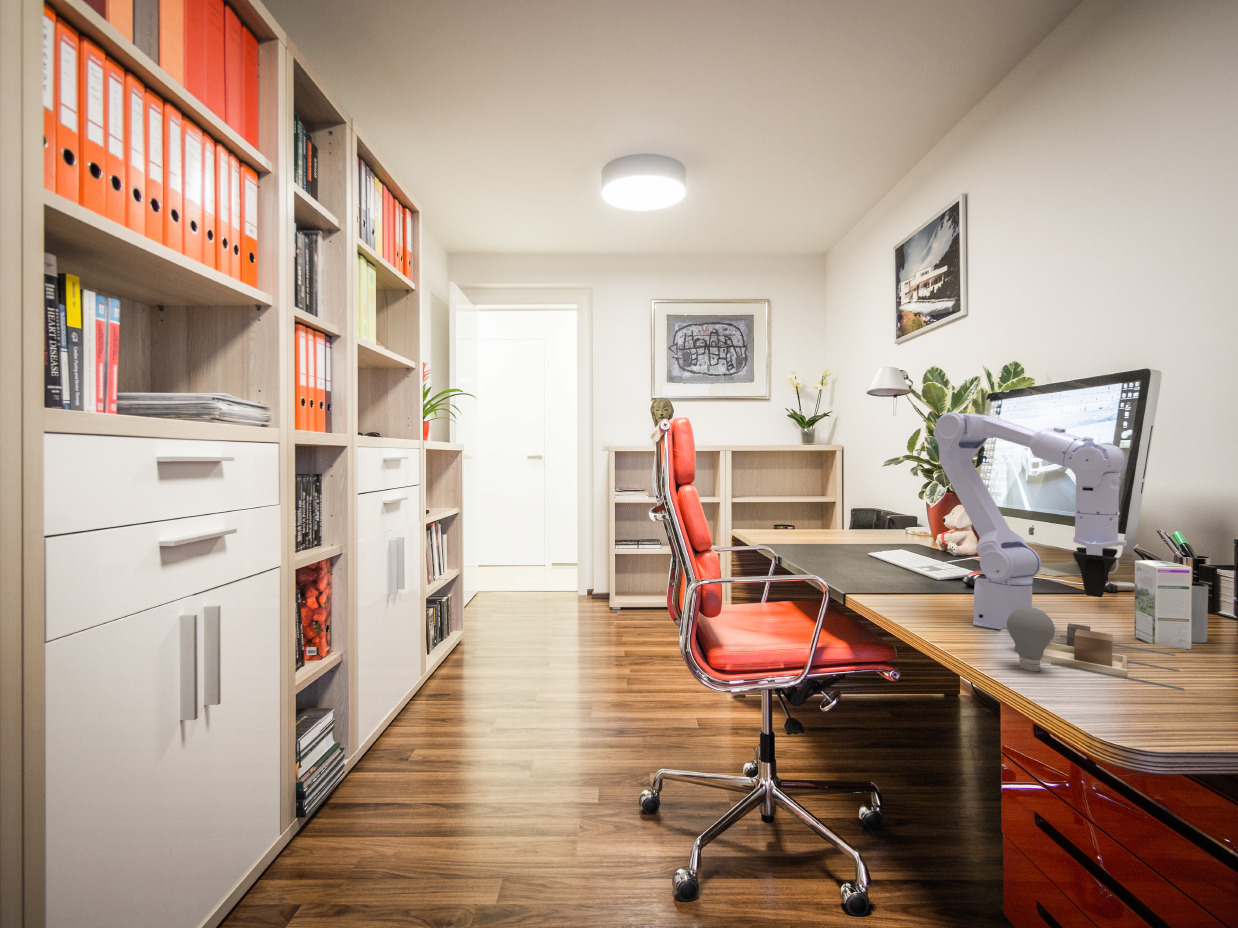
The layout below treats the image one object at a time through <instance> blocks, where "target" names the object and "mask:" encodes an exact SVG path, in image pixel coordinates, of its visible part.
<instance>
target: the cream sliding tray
mask: <svg viewBox="0 0 1238 928" xmlns="http://www.w3.org/2000/svg"><path fill="white" fill-rule="evenodd" d="M1014 646H1015V647H1014V649H1015V650H1014V651H1015V652H1016V653H1018V652H1017V647H1016V644H1015V643H1014ZM1015 652H1014V653H1015ZM1127 661H1128V656H1127V655H1123V654H1122V655H1121V654H1118V653H1112V667H1110V666H1105V665H1099V664H1094V663H1088V662H1083V661H1078V660H1074V647H1072V646H1067V644H1060V643H1054V642H1050V643H1049V644H1048V645H1047V647H1046V648H1045V649H1044V652H1043V656H1042V658H1041V660H1040V662H1044V663H1049V664H1051V663H1056V664H1061V665H1066V666H1071V667H1076V668H1082V669H1087V670H1092V671H1097V672H1102V673H1107V674H1113V675H1118V676H1123V677H1128V662H1127Z"/></svg>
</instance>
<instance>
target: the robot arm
mask: <svg viewBox="0 0 1238 928" xmlns="http://www.w3.org/2000/svg"><path fill="white" fill-rule="evenodd" d="M1066 431H1067V430H1066V429H1065V428H1063V427H1058V426H1055V427H1053V428H1052V427H1051V428H1050V427H1048V428H1044V429H1042V430H1039V431H1037V430H1034V429H1032V428H1028V427H1025V426H1022V425H1021V424H1017V423H1014V422H1012V421H1009V420H1006V419H1003V418H1000V417H997V416H994V415H993V416H992V415H986V414H985V415H984V414H982V413H974V414H973V413H962V412H961V413H957V412H955V411H950V412H949V411H948V412H945V413H943V414H941V416H940V417H939V418H938V420H937V421H936V424H935V427H934V430H933V433H932V434H933V436H934V438H935V440H936V442H937V445H938V457H939V463H940V466H941V468H942V470H943V471H944V474H945V475H946V477H947V479H948V481H949V483H950V485H951V486H952V489H953V491H954V492H955V494H956V496H957V498H958V500H959V501H960V503H961V505H962V507H963V509H964V512H965V513H966V515H967V516H968V518H969V521H970V522H971V524H972V526H973V528H974V529H975V532H976V533H977V535H978V538H979V541H978V543H977V545H976V547H975V550H976V553H977V555H978V557H979V567H980V570H981V571H982V573H983V575H984V576H985V577H986V578H979V577H978V578H976V579H975V581H974V589H973V622H972V625H973V626H977V627H981V628H988V629H993V630H999V631H1002V629H1003V628H1006V629H1007V619H1008V617H1009V615H1010V614H1011V613H1012V612H1013V611H1015V610H1016V609H1018V608H1022V607H1033V582H1034V577H1036V576H1037V575H1038V574H1039V572H1040V571H1041V567H1042V561H1041V558H1040V556H1039V554H1038V552H1037V551H1035V550H1034V549H1033V548H1031V547H1030V546H1029V545H1028V543H1026V541H1025V539H1024V538H1023V537H1022V536H1020V535H1019V534H1018V533H1016V532H1015V531H1013V530H1011V528H1010V527H1009V525H1008V523H1007V521H1006V520H1005V518H1004V516H1003V515H1002V513H1001V511H1000V509H999V507H998V506H997V504H996V502H995V500H994V498H993V497H992V495H991V493H990V491H989V489H988V488H987V486H986V484H985V483H984V481H983V479H982V477H981V476H980V474H979V472H978V470H977V469H976V468H977V467H975V465H974V463H973V460H974V457H975V456H976V454H978V452H979V451H980V449H981V448H982V447H983V446H984V444H985V443H986V442H987V441H988V439H994V438H997V439H1000V440H1003V441H1006V442H1007V441H1008V442H1010V443H1014V444H1015V445H1020V446H1023V447H1027V448H1029V449H1030V451H1031V454H1032V455H1033V456H1034V457H1035V458H1036V459H1037V458H1038V459H1041V460H1043V461H1046V462H1049V463H1052V464H1054V465H1058V466H1060V467H1063V468H1065V469H1066V468H1067V469H1068V470H1071V472H1072V473H1073V474H1074V476H1075V515H1074V517H1075V518H1074V521H1075V522H1074V537H1073V543H1075V544H1078V545H1081V547H1080V546H1078V547H1076V551H1073V553H1072V555H1073V557H1074V560H1075V562H1076V563H1077V566H1078V569H1079V570H1080V575H1081V577H1082V584H1083V590H1084V592H1085V596H1086V597H1088V596H1089V597H1094V598H1096V597H1097V598H1103V596H1104V593H1105V590H1106V585H1107V581H1108V576H1109V574H1110V571H1111V569H1112V567H1113V565H1114V564H1115V562H1116V561H1117V559H1118V557H1116V555H1117V554H1118V549H1117V548H1113V547H1119V546H1124V547H1125V546H1128V542H1127V540H1122V539H1121V540H1120V539H1119V509H1120V508H1119V503H1120V502H1119V501H1120V499H1119V497H1120V474H1121V473H1122V472H1123V471H1124V469H1125V468H1126V466H1127V463H1128V462H1127V459H1128V458H1127V455H1126V453H1125V452H1124V450H1123V449H1122V448H1120V447H1118V446H1116V445H1114V444H1113V443H1112V442H1111V443H1109V442H1104V443H1103V442H1102V443H1095V442H1094V441H1095V440H1094V438H1093V437H1091V436H1090V437H1089V436H1083V437H1080V436H1077V435H1075V434H1074V435H1073V434H1071V433H1067V432H1066ZM1083 546H1084V547H1083Z"/></svg>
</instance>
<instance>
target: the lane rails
mask: <svg viewBox="0 0 1238 928" xmlns="http://www.w3.org/2000/svg"><path fill="white" fill-rule="evenodd" d="M1060 638H1065V639H1067V635H1060ZM1113 647H1120V648H1125V649H1130V650H1131V649H1132V650H1138V651H1143V652H1150V653H1154V654H1155V653H1156V654H1161V655H1168V656H1172V657H1176V654H1175V653H1169V652H1165V651H1158V650H1151V649H1146V648H1140V647H1134V646H1127V645H1122V644H1115V643H1113ZM1127 664H1135V665H1139V666H1145V667H1153V668H1157V669H1162V670H1167V671H1168V670H1169V671H1174V672H1178V673H1179V672H1180V669H1175V668H1169V667H1164V666H1160V665H1159V666H1158V665H1152V664H1148V663H1147V664H1146V663H1142V662H1137V661H1131V660H1127ZM1050 665H1051V666H1057V667H1060V668H1061V667H1063V668H1067V669H1071V670H1077V671H1081V672H1086V673H1087V672H1088V673H1093V674H1098V675H1102V676H1108V677H1113V678H1118V679H1124V680H1129V681H1133V682H1139V683H1144V684H1149V685H1153V686H1160V687H1162V688H1163V687H1164V688H1169V689H1174V690H1180V691H1185V688H1184V687H1179V686H1174V685H1168V684H1163V683H1159V682H1154V681H1149V680H1143V679H1137V678H1132V677H1128V676H1127V677H1123V676H1118V675H1113V674H1107V673H1102V672H1097V671H1092V670H1087V669H1082V668H1076V667H1071V666H1066V665H1061V664H1056V663H1050Z"/></svg>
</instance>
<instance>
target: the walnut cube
mask: <svg viewBox="0 0 1238 928" xmlns="http://www.w3.org/2000/svg"><path fill="white" fill-rule="evenodd" d="M1113 635H1114V634H1113V633H1111V634H1110V633H1105V632H1099V631H1093V630H1090V631H1087V630H1081V629H1076V632H1075V642H1074V660H1078V661H1083V662H1088V663H1094V664H1099V665H1105V666H1110V667H1112V654H1113V647H1114V646H1113V644H1114V643H1113V638H1114V636H1113Z"/></svg>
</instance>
